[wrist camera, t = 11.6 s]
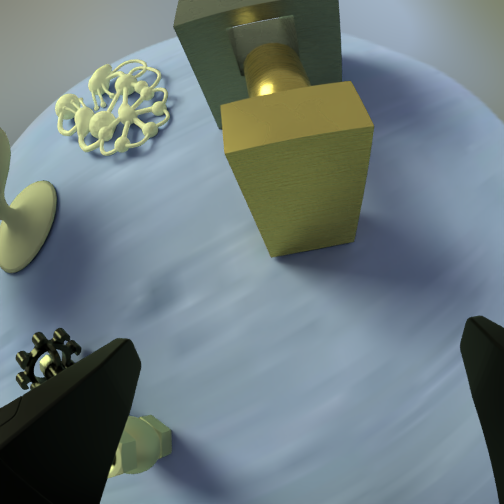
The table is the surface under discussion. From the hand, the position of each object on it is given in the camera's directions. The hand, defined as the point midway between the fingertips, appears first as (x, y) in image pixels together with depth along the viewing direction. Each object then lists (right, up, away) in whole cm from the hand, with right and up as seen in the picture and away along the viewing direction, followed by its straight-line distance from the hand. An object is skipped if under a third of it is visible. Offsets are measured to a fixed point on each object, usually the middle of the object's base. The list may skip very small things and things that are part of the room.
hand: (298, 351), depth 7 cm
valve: (-12, -10, +14) cm, 21 cm away
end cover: (+3, +8, +17) cm, 19 cm away
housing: (+1, +20, +22) cm, 30 cm away
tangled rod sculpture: (-18, +20, +27) cm, 39 cm away
